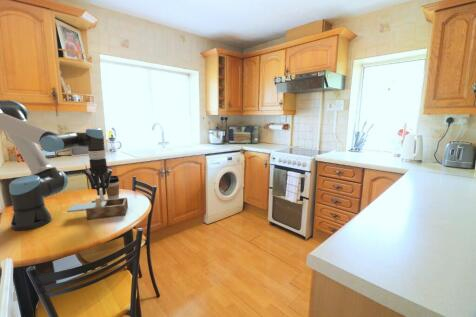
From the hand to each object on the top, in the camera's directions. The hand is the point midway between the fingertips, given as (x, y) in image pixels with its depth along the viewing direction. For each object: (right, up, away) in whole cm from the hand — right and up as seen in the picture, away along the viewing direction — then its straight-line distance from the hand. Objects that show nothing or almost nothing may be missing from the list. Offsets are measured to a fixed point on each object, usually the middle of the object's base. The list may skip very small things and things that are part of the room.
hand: (102, 200), depth 128 cm
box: (+2, -7, +2) cm, 8 cm away
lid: (-7, -3, -2) cm, 8 cm away
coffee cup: (-5, -4, +22) cm, 22 cm away
